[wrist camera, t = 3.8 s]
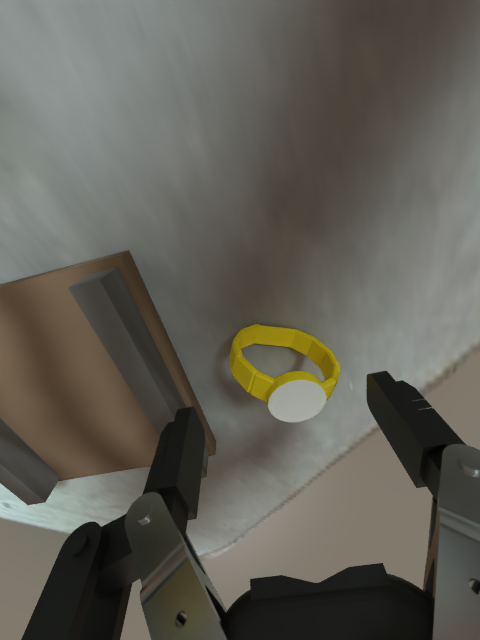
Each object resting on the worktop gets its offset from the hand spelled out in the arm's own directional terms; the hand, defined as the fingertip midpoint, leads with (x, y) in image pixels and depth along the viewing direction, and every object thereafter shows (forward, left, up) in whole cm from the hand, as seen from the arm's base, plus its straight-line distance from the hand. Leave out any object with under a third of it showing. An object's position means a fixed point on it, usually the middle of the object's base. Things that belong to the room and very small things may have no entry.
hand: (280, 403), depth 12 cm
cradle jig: (+14, +1, -6) cm, 16 cm away
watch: (-1, 0, -6) cm, 6 cm away
